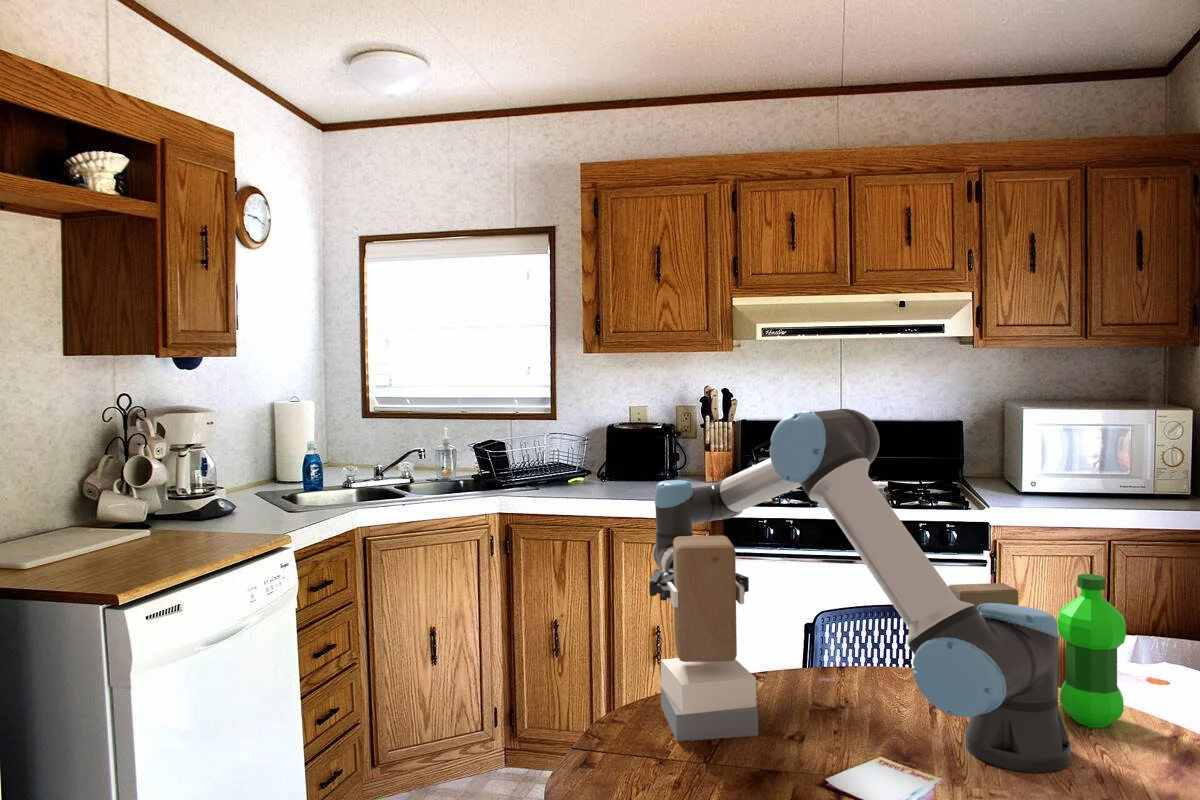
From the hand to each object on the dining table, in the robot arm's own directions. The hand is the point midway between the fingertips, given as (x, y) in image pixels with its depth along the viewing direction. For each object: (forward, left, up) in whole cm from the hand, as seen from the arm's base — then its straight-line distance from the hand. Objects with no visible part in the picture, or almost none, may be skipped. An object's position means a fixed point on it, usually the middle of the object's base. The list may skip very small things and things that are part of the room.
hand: (709, 597), depth 147 cm
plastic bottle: (-6, -65, -23) cm, 69 cm away
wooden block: (+4, 0, -11) cm, 12 cm away
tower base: (+4, 0, -23) cm, 24 cm away
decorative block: (+9, -54, -23) cm, 59 cm away
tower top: (+4, 0, -18) cm, 19 cm away
